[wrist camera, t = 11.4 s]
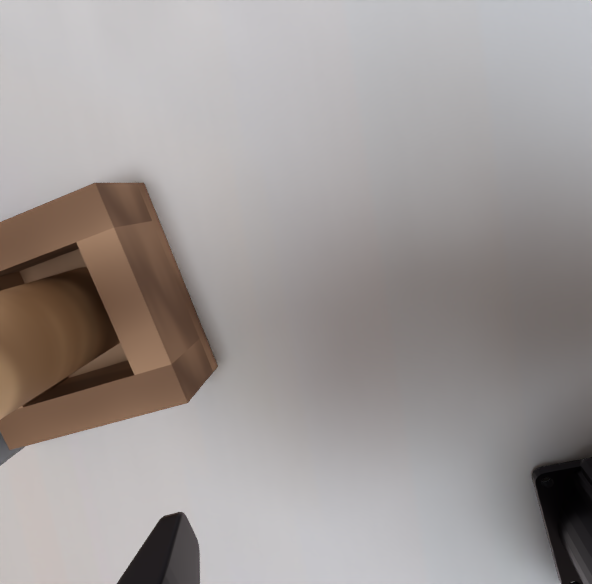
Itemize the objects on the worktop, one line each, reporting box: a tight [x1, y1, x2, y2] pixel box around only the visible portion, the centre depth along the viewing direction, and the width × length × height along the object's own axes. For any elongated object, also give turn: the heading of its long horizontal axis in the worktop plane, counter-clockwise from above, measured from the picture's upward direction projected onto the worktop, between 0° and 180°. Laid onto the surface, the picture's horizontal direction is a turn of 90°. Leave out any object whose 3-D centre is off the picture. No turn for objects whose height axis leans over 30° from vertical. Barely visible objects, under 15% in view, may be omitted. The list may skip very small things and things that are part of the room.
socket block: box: [0, 183, 218, 450], centre depth 20 cm, size 9×9×4 cm
